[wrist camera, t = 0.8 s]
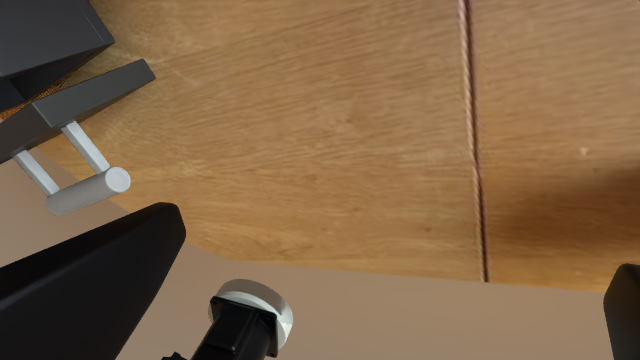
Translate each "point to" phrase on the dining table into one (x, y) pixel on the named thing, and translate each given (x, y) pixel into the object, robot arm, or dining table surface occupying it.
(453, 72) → the dining table surface
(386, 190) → the dining table surface
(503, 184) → the dining table surface
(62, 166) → the dining table surface
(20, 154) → the drawer
